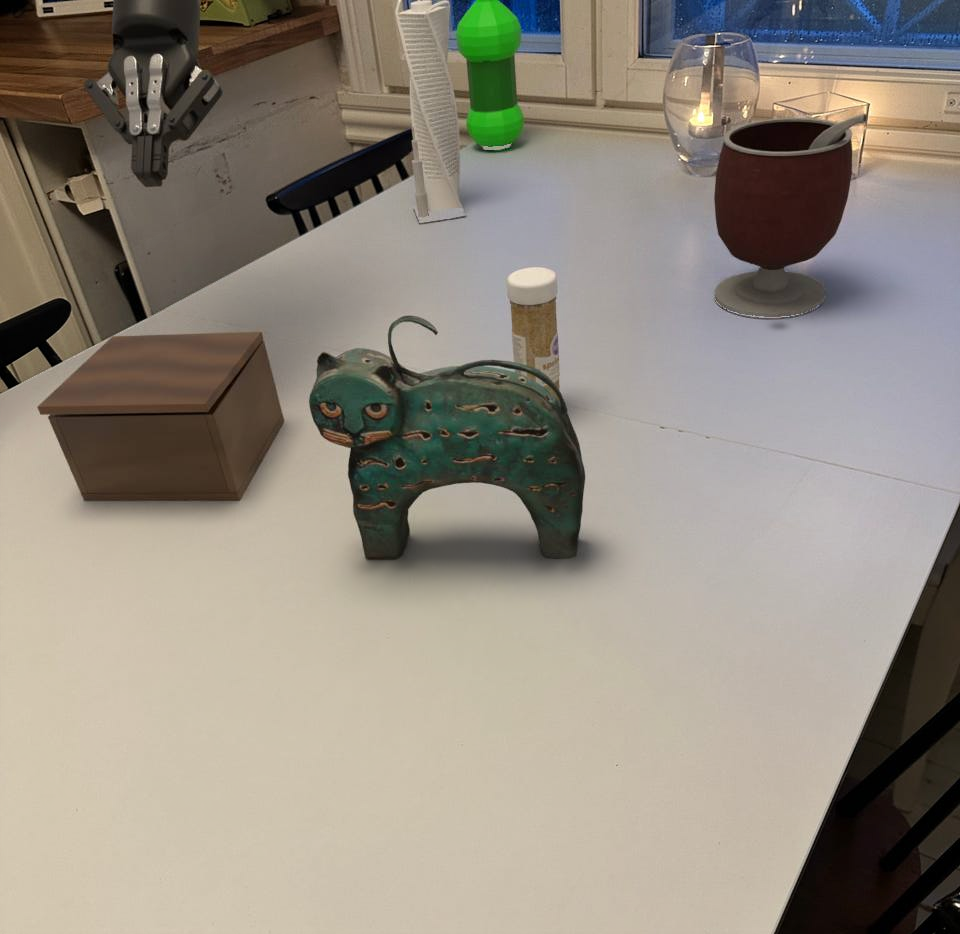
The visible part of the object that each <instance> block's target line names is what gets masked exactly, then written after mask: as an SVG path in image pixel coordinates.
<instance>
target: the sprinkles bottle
mask: <svg viewBox="0 0 960 934" xmlns="http://www.w3.org/2000/svg"><path fill="white" fill-rule="evenodd" d="M506 288H507V289H506V291H507V298H508V301H509V304H510V314H511V315H510V318H511V338H512V339H511V340H512V354H513V362H515V363H521V364H524V365H527V366H530V367H533V368H536V369H538V370H540V371H541V372H543V373H544V374H545V375H547V376H548V377H549V378H550V379H551V380H552V381H553V382H554V383H555V384H556V386H557V388H558V389H559V391H560V389H561V388H560V386H561V385H560V376H561V374H560V373H561V372H560V370H561V369H560V352H559V350H560V349H559V333H558V321H557V320H558V318H557V302H556V301H557V296H558V277H557V274H556V273H555V271H553V270H552V269H550V268H546V267H539V266H538V267H536V266H534V267H526V268H525V267H524V268H521V269H518V270H515V271H514V272H511V274H509V275H508V277H507V280H506ZM514 372H517V373H519V374H522V375H524V376H527V377H528V378H530V379H532V380H533V381H535V382H537V383H539V384H540V385H542V386H543V387H545V388H546V389H547V390H548V391H549V392H550V393H552V394H553V395H554V396H555V397H556V398H557V399H558V401H559V398H558V396H557V395H556V393H555V392H554V391H553V390H552V388H551V387H550V386H548V385H547V384H546V383H544V382H543V381H541V380H540V379H539V378H537V377H535V376H534V375H532V374H529V373H527V372H524V371H519V370H515V369H514ZM560 392H561V391H560ZM559 402H560V401H559Z"/></svg>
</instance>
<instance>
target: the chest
mask: <svg viewBox="0 0 960 934" xmlns="http://www.w3.org/2000/svg"><path fill="white" fill-rule="evenodd" d="M266 347H267V346H266V343H265V340H264V339H263V341H262V342H261V343H260V345H259V346H258V347H257V348H256V350H255V351H254V352H253V354H252V355H251V356H250V358H249V359H248V360H247V361H246V363H245V364H244V365H243V367H242V368H241V369H240V371H239V372H238V373H237V375H236V376H235V377H234V378H233V380H232V381H231V382H230V384H229V385H228V386H227V388H226V389H225V390H224V391H223V393H222V394H221V395H220V397H219V398H218V399H217V401H216V402H215V403H214V405H213V406H212V407H211V408H210V410H209V411H208V412H174V413H115V414H56V415H48V416H47V419H48V420H49V424H50V426H51V428H52V430H53V432H54V435H55V438H56V439H57V442H58V445H59V447H60V449H61V451H62V453H63V456H64V458H65V460H66V463H67V465H68V467H69V469H70V472H71V474H72V476H73V479H74V481H75V483H76V486H77V488H78V491H79V493H80V495H81V498H82V500H83V501H240V500H241V498H242V497H243V495H244V493H245V492H246V489H247V488H248V486H249V485H250V483H251V481H252V479H253V478H254V475H255V473H257V470H258V468H259V466H260V465H261V463H262V461H263V460H264V458H265V456H266V454H267V452H268V451H269V449H270V447H271V445H272V443H273V442H274V439H275V438H276V436H277V435H278V433H279V431H280V429H281V427H282V426H283V424H284V422H285V417H284V415H283V411H282V406H281V402H280V398H279V394H278V391H277V387H276V386H277V385H276V383H275V379H274V375H273V371H272V366H271V363H270V358H269V355H268V351H267V348H266Z"/></svg>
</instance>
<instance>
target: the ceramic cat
mask: <svg viewBox="0 0 960 934" xmlns="http://www.w3.org/2000/svg"><path fill="white" fill-rule="evenodd" d="M401 323H413V324H418V325H420V326H421V327H424V328H425V329H426V330H429V331H431V332H432V333H433V335H435V336H437V335H438V334H439V332H438V330H437V328H436V327H435V326H434V325H433V324H432V323H431V322H430V321H428V320H427V319H425V318H424V317H423V318H422V317H420V316H416V315H403V316H400V317H398V318H397V319H396V320H394V321H393V322H392V323H391V324H390V326H389V328H388V332H387V347H388V351H389V355H390V356H389V355H387V354H385V353H382V352H381V351H378V350H374V349H370V348H364V347H356V348H353V349H349V350H345V351H344V352H342V353H340V354H339V355H337V356H335V355H332V354H331V353H329V352H327V351H322V352H321V353H320V354H319V355H318V356H317V359H316V364H317V365H316V379H315V381H314V384H313V386H312V389H311V391H310V393H309V399H308V405H309V410H310V414H311V418H312V421H313V423H314V425H315V426H316V428H317V430H318V432H319V433H320V434H319V435H320V436H321V437H322V438H323V439H325V440H326V441H328V442H330V443H332V444H334V445H337V446H341V447H345V448H347V449H350V450H349V451H350V452H349V457H348V462H347V477H348V481H349V485H350V490H351V494H352V514H353V516H354V519H355V523H356V524H357V528H358V530H359V534H360V539H361V544H362V548H363V553H364V559H367V560H396V559H397V558H399V557H400V556H402V555H403V554H404V552H405V551H406V548H407V543H408V539H409V537H410V536H411V535H410V533H411V529H410V528H411V527H410V523H409V509H410V508H411V507H412V505H413V504H414V503H415V502H416V500H417V499H418V498H419V497H420V496H421V495H422V494H423V493H425V492H428V491H429V490H433V489H437V488H443V487H448V486H452V485H458V484H472V483H474V484H484V485H485V484H486V485H492V486H495V487H500V488H503V489H506V490H508V491H511V492H513V493H514V494H515V495H516V496H517V497H518V498H519V499H520V501H521V502H522V504H523V505H524V506H525V507H524V508H526V510H527V511H528V513H529V515H530V517H531V520H532V522H533V523H534V526H535V529H536V531H537V537H538V543H539V550H540V553H541V554H542V556H543V557H545V558H550V559H565V558H572V557H576V555H577V554H578V547H579V539H580V532H581V526H582V516H583V508H584V493H585V485H586V470H585V465H584V462H583V457H582V450H581V445H580V441H579V439H578V436H577V433H576V431H575V428H574V425H573V423H572V420H571V418H570V416H569V413H568V408H567V405H566V402H565V399H564V396H563V394H562V392H561V391H559V389H558V388H557V386H556V384H555V383H554V382H553V381H552V380H551V379H550V378H549V377H548V376H547V375H545V374H544V373H543V372H541V371H540V370H538V369H536V368H533V367H530V366H527V365H524V364H521V363H515V362H514V361H510V360H499V359H482V360H476V361H472V362H468V363H464V364H462V365H453V366H445V367H440V368H434V369H431V370H428V371H423V372H416V371H413V370H410V369H408V368H405V366H403V365H402V364H401V363H399V361H398V358H397V355H396V353H395V351H394V347H393V344H392V335H393V334H392V333H393V331H394V329H395V328H396V326H398V325H400V324H401ZM498 367H500V368H498ZM503 368H504V369H503ZM513 370H514V371H513ZM515 370H519V371H524V372H527V373H529V374H532V375H534V376H535V377H537V378H539V379H540V380H541V381H543V382H544V383H546V384H547V385H548V386H550V387H551V388H552V390H553V391H554V392H555V393H556V395H557V396H558V398H559V401H560V402H559V401H558V399H557V398H556V397H555V396H554V395H553V394H552V393H550V392H549V391H548V390H547V389H546V388H545V387H543V386H542V385H540V384H539V383H537V382H535V381H533V380H532V379H530V378H528V377H527V376H524V375H522V374H519V373H517V372H515Z"/></svg>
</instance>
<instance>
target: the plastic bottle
mask: <svg viewBox="0 0 960 934" xmlns="http://www.w3.org/2000/svg"><path fill="white" fill-rule="evenodd" d="M456 27H457V28H456V32H455V38H456V45H457V48H458V52H459V53H460V55H461V56H463V58H464V59H465V61H466V71H467V72H466V73H467V84H468V94H469V105H470V106H469V107H470V108H469V111H468V113H467V117H466V121H465V124H466V130H467V133H468V135H469V137H470V138H471V140H472V141H473V142H475V143H476V144H477V145H478V144H479V145H482V146H488V147H493V146H504V145H507V144H511V143H513V142H514V141H515V142H516V141H517V139H518V138H519V137H520V136H521V134H522V132H523V130H524V126H525V116H524V112H523V110H522V108H521V107H520V105H519V104H518V93H517V75H516V74H517V73H516V60H515V54H516V53H517V51H518V50H519V48H520V47H521V42H522V26H521V24H520V21H519V18H518V17H517V16H516V15H515V13H513V12H512V11H511V10H510V9H509V8H508V7H507V6H506V5H504V3H502V2H501V1H500V0H475V1H474V3H472V5H471V6H470V7H469V8H468V10H466V12H465V14H464V15H463V16H462V18H461V19H460V20H459V22H458V24H457V26H456ZM515 142H514V143H515ZM514 143H513V144H514ZM513 144H512V145H511V146H510V147H509V148H506V149H503V150H494V151H493V152H501V151H502V152H503V151H505V150H509V149H510V148H512V146H513ZM479 145H478V146H479Z"/></svg>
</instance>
